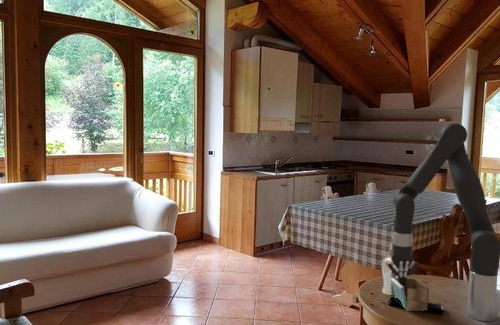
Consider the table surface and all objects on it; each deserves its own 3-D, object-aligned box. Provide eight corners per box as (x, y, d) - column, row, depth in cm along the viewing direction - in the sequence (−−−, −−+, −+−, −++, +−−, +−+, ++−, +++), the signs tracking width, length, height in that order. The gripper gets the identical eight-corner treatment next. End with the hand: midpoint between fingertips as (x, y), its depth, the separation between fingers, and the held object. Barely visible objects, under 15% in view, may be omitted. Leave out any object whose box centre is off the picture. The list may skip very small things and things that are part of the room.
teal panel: (398, 298, 171) (393, 277, 170) (408, 308, 161) (403, 286, 160) (395, 299, 171) (390, 278, 170) (405, 309, 161) (400, 287, 160)
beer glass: (395, 297, 174) (396, 262, 172) (378, 293, 178) (380, 259, 177) (400, 292, 179) (401, 259, 178) (384, 288, 183) (385, 255, 182)
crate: (413, 299, 173) (414, 278, 172) (427, 311, 161) (428, 289, 160) (394, 299, 172) (395, 278, 171) (407, 311, 160) (408, 289, 160)
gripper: (390, 246, 160) (389, 289, 162) (423, 245, 161) (422, 288, 162) (382, 241, 168) (382, 282, 169) (414, 240, 168) (413, 281, 170)
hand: (401, 285), depth 166 cm, fingers closed
